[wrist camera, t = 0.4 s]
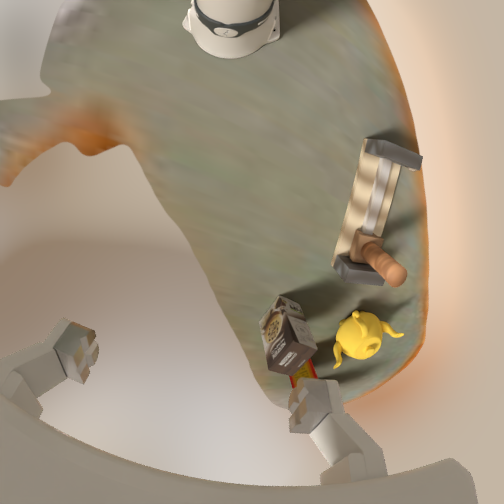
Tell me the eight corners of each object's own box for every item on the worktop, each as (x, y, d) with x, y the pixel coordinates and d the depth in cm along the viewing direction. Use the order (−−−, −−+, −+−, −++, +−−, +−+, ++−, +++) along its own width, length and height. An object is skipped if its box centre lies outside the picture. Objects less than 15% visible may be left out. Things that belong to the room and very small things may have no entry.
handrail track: (364, 136, 50) (385, 137, 42) (402, 150, 51) (425, 155, 44) (330, 265, 61) (344, 284, 53) (367, 270, 63) (383, 288, 55)
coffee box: (278, 293, 62) (294, 340, 48) (300, 303, 64) (319, 349, 50) (257, 322, 65) (267, 370, 50) (279, 330, 67) (292, 377, 52)
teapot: (382, 287, 66) (404, 312, 55) (385, 326, 72) (404, 350, 61) (313, 318, 67) (327, 348, 56) (325, 354, 73) (337, 383, 62)
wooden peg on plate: (353, 229, 56) (392, 260, 41) (375, 233, 57) (415, 264, 42) (345, 254, 58) (379, 291, 44) (367, 257, 59) (403, 292, 45)
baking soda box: (283, 354, 71) (295, 399, 56) (305, 345, 70) (322, 389, 56) (292, 373, 75) (305, 415, 60) (313, 365, 74) (328, 406, 60)
